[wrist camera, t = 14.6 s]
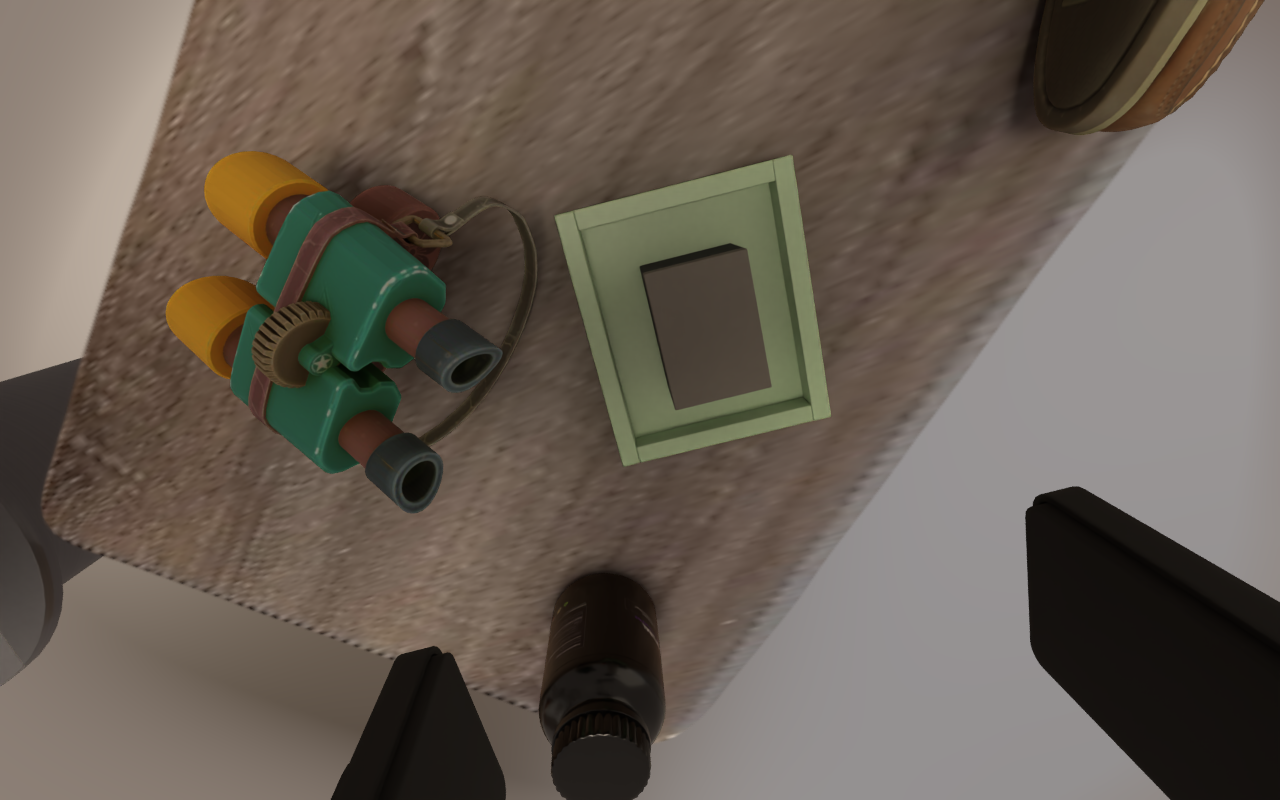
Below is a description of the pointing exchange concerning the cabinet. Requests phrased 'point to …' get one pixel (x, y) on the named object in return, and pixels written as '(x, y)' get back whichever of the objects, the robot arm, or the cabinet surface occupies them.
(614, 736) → the supplement bottle
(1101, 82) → the boat shoe
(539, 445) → the cabinet surface
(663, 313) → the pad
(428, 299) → the binoculars
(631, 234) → the rectangular tray
